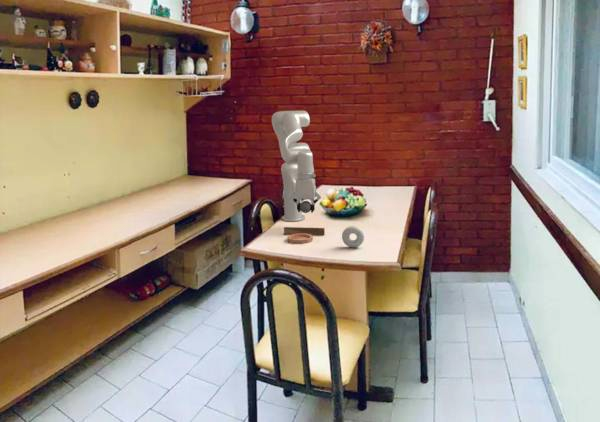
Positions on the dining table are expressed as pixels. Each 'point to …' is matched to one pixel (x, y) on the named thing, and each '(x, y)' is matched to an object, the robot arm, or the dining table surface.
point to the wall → (304, 230)
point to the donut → (354, 230)
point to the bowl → (300, 238)
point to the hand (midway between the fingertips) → (305, 211)
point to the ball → (305, 206)
